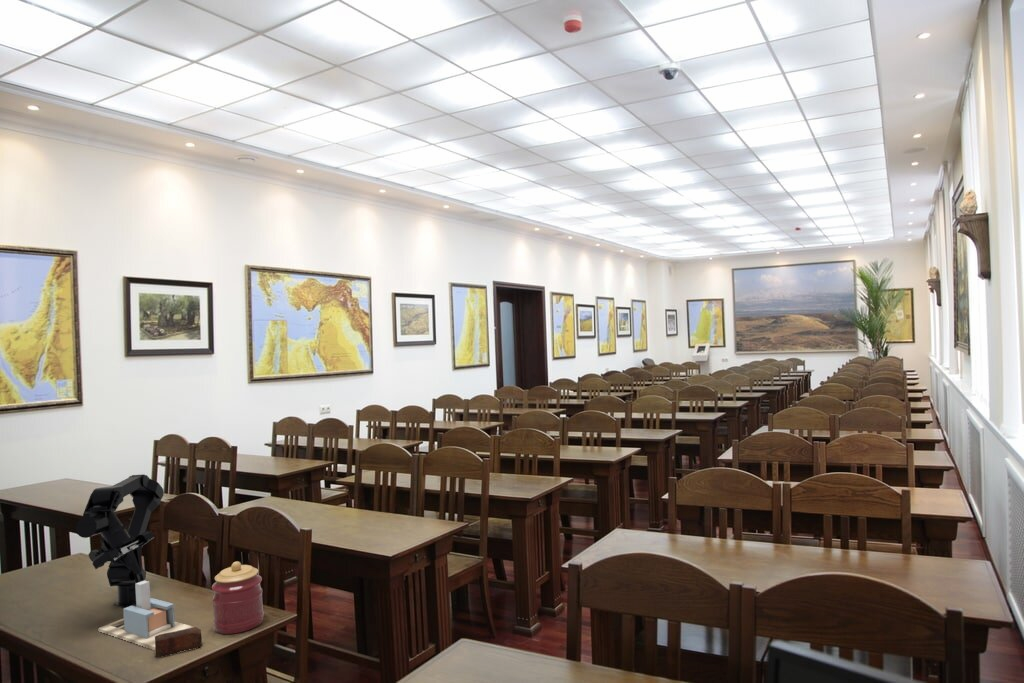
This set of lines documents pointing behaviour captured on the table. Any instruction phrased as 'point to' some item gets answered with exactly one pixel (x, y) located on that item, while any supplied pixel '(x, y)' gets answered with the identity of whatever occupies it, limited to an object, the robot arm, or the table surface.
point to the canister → (237, 599)
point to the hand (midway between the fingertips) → (139, 573)
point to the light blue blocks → (146, 617)
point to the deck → (118, 631)
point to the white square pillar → (143, 601)
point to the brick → (177, 641)
